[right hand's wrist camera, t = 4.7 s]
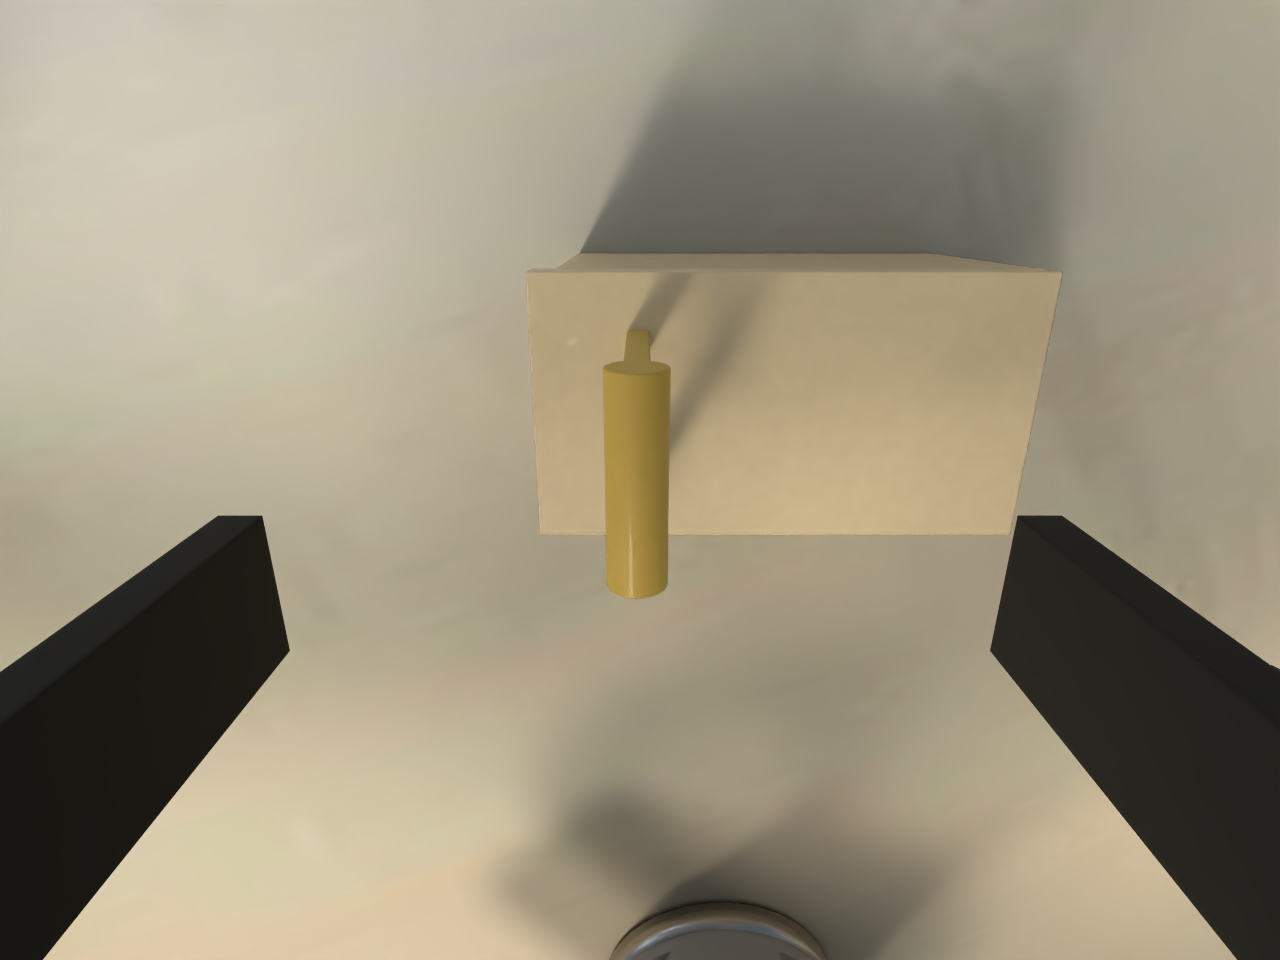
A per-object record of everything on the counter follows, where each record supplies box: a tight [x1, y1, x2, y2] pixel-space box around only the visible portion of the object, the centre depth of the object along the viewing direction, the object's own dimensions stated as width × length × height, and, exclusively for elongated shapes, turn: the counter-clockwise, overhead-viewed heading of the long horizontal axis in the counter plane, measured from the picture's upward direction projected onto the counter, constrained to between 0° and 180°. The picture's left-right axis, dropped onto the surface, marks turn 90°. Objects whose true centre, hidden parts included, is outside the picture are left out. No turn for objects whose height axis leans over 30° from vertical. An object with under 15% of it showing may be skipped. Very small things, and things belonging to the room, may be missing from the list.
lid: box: [526, 269, 1063, 599], centre depth 21 cm, size 17×9×8 cm, turn 90°
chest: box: [556, 253, 1039, 269], centre depth 29 cm, size 16×9×9 cm, turn 90°
